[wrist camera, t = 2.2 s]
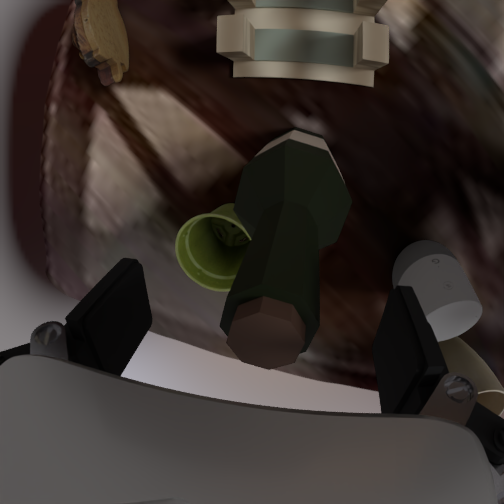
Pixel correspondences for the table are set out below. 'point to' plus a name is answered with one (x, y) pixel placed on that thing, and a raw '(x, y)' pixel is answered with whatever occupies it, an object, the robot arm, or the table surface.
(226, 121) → the table surface
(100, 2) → the wooden carving
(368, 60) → the rest
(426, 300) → the smart speaker
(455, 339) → the plant pot
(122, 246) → the table surface
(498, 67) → the table surface
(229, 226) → the plant pot
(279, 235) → the wine bottle
